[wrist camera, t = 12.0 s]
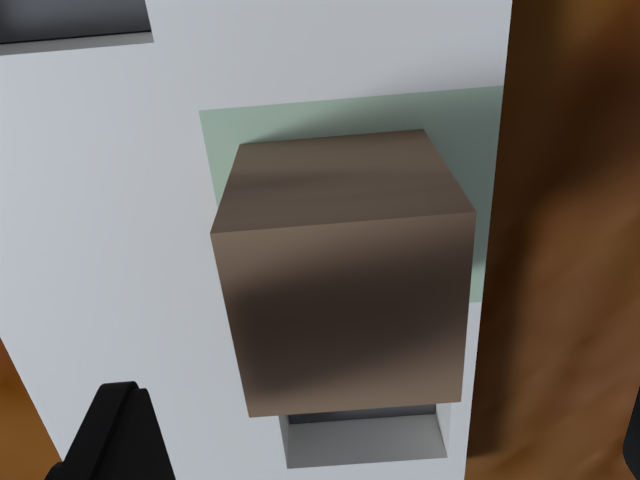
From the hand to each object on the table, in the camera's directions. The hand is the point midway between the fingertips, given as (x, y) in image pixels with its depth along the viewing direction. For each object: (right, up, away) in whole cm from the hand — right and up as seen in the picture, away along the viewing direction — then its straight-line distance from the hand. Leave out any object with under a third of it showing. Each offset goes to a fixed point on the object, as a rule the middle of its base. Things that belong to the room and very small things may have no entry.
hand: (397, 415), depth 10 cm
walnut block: (-1, +4, +5) cm, 7 cm away
